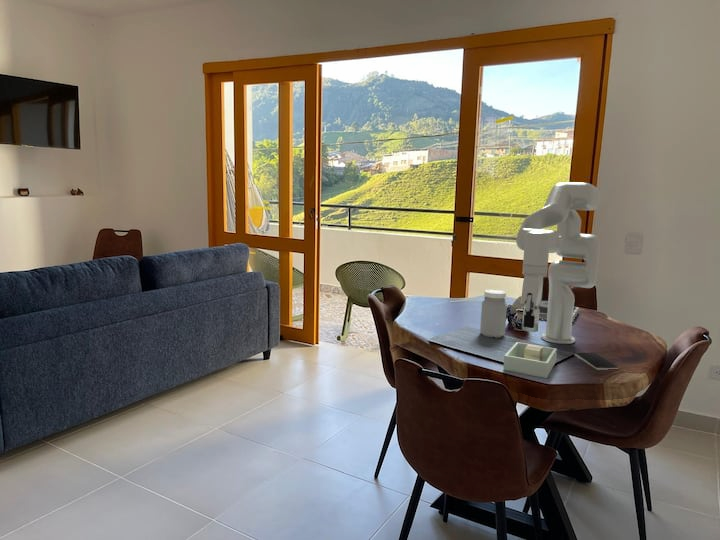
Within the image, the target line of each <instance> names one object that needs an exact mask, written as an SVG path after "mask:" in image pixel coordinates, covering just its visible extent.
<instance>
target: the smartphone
mask: <svg viewBox="0 0 720 540" xmlns="http://www.w3.org/2000/svg"><path fill="white" fill-rule="evenodd" d="M574 356H575V357H577V358H578V359H579V360H581V361H583V362H584V363H586V364H587V365H589V366H590V367H592V368H594V369H595V370H597V371H598V370H599V371H601V370H602V371H603V370H604V371H605V370H606V371H607V370H608V369H618V370H619V367H618V366H617V365H615V364H614V363H612V362H611V361H609V360H607V359H605V358H604V357H602V356H600V355H599V354H597V353H595V352H575V353H574Z"/></svg>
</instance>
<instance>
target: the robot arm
mask: <svg viewBox="0 0 720 540" xmlns="http://www.w3.org/2000/svg"><path fill="white" fill-rule="evenodd" d="M600 202H601V192H600V190H599V188H597V186H595V185H593V184H591V183H588V182H575V181H573V182H571V181H570V182H568V181H566V182H557V183H555V184H554V185H553V186H552V188H551V189H550V191H549V193H548V196H547V198H546V200H545V203H544V206H543V207H542V208H539V209H538V210H535V211H534V212H532V213H531V214H529V215H527V217H525V218H524V219H523V221H522V223H521V225H520V227H519V228H518V229H519V230H518V232H517V235H516V242H515V243H516V246H517V248H518V249H520V250H521V251H523V258H522V259H523V260H522V261H523V262H522V271H521V273H522V275H523V276H524V277H523V282H522V289H521V290H522V291H521V295H520V296H521V298H520V305H521V306H525V313H524V323H523V326H524V327H528V328H534V319H535V316H534V310H535V308H538V304H539V303H540V302H541V301H542V300H543V287H544V277H548V284H549V285H548V299H547V301H548V311H547V321H546V322H545V332H543V333H541V335H540V338H541V339H542V340H543V341H546V342H549V343H553V344H558V345H568V344H569V345H570V344H573V343H575V342H576V338H575V337H574V336H573V335H572V330H573V323H572V320H573V310H574V307H575V294H574V292H573V290H572V289H571V288H570V287H574V288H582V289H583V288H585V289H591V288H593V287H594V286H595V285H596V282H597V278H598V271H599V262H600V256H601V255H600V253H601V241H600V239H599V237H598V236H597V235H595V234H593V233H590V234H589V233H581V228H582V218H581V216H580V214H579V213H578V212H577V211H595V210H597V208H598V207H599V206H600ZM554 226H557V227H556V230H553V229H546V228H550V227H554ZM554 253H555V254H556V255H558V257H563V258H571V259H580V260H584V261H585V262H581V261H571V260H555V261H552V262H551V263H550V265H549V255H550V254H554ZM530 308H532V309H530Z"/></svg>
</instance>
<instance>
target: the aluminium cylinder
mask: <svg viewBox="0 0 720 540" xmlns="http://www.w3.org/2000/svg"><path fill="white" fill-rule="evenodd" d="M523 307H524V306H523ZM530 309H532V308H530ZM524 313H525V307H524V309H523V317H522V324H521V329H522V330H523V331H525V332H529V333H536V332H538V331H539V323H540V320H539V313H540V309H538V308H535V310H534V316H535V319H534V328H528V327H524V326H523V323H524Z"/></svg>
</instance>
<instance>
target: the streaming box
mask: <svg viewBox="0 0 720 540" xmlns="http://www.w3.org/2000/svg"><path fill="white" fill-rule="evenodd" d="M538 309H540V313H545V314H547V311H548V300H541V302H540V303H539V304H538Z"/></svg>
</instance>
